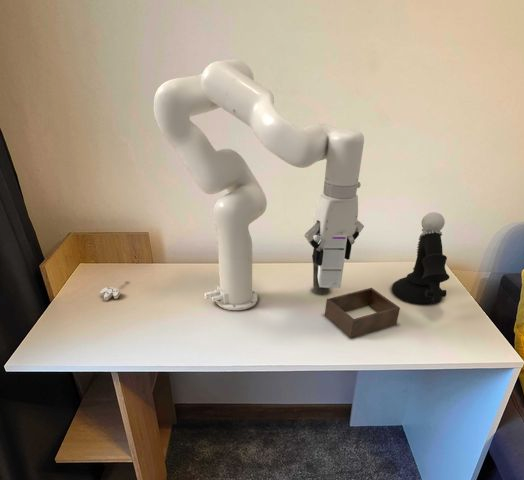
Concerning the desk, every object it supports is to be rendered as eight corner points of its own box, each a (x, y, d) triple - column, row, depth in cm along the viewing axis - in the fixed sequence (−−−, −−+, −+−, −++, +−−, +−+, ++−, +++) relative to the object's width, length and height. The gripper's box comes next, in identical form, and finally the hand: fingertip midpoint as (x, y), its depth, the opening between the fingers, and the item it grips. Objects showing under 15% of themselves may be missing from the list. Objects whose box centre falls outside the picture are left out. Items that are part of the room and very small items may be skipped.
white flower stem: (98, 300, 134) (96, 293, 133) (109, 282, 144) (107, 275, 142) (117, 301, 134) (115, 293, 133) (127, 283, 144) (126, 275, 142)
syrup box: (341, 288, 116) (349, 234, 107) (318, 287, 116) (324, 233, 107) (338, 278, 120) (345, 225, 112) (316, 277, 120) (322, 224, 112)
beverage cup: (331, 298, 138) (339, 235, 126) (307, 295, 139) (313, 232, 127) (333, 286, 144) (340, 225, 132) (310, 284, 145) (315, 223, 133)
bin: (350, 338, 121) (353, 321, 117) (324, 315, 130) (326, 298, 126) (396, 324, 126) (400, 307, 123) (368, 303, 135) (371, 287, 132)
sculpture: (433, 281, 147) (454, 205, 132) (459, 321, 128) (486, 237, 113) (386, 281, 147) (402, 204, 132) (405, 320, 128) (426, 236, 113)
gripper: (361, 180, 110) (350, 248, 120) (299, 189, 103) (293, 260, 114) (380, 189, 104) (368, 260, 115) (316, 199, 98) (309, 273, 108)
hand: (331, 260), depth 114 cm, fingers closed on syrup box, 7 cm apart
